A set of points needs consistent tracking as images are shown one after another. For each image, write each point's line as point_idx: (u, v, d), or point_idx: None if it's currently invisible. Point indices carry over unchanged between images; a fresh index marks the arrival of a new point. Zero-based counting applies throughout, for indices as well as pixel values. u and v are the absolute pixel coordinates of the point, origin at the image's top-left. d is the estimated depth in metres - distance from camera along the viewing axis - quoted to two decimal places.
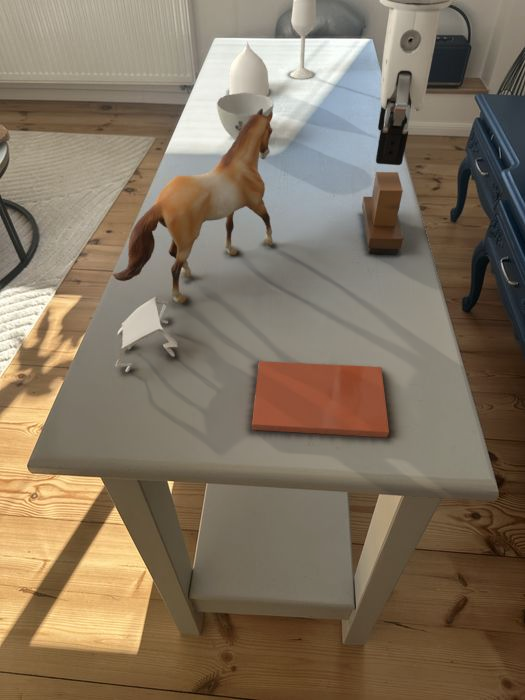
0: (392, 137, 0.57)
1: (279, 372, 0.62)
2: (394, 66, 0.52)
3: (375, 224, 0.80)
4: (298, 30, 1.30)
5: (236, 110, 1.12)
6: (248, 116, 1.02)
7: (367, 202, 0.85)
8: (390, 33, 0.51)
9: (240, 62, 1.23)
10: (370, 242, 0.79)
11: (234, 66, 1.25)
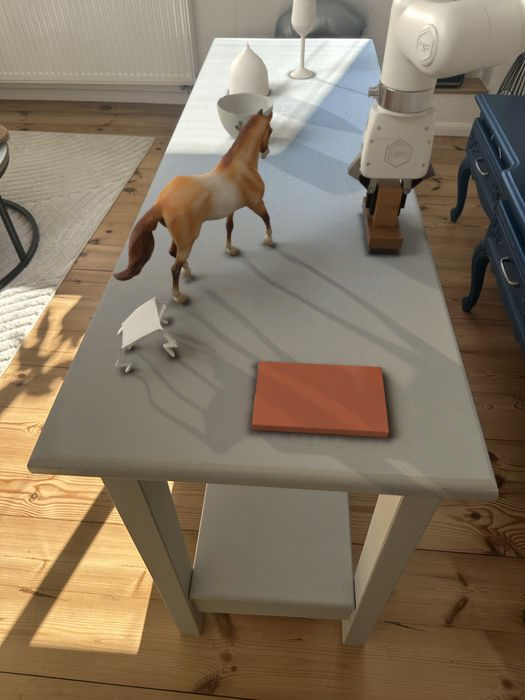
0: None
1: (279, 372, 0.62)
2: None
3: (375, 224, 0.80)
4: (298, 30, 1.30)
5: (236, 110, 1.12)
6: (248, 116, 1.02)
7: None
8: None
9: (240, 62, 1.23)
10: (370, 242, 0.79)
11: (234, 66, 1.25)
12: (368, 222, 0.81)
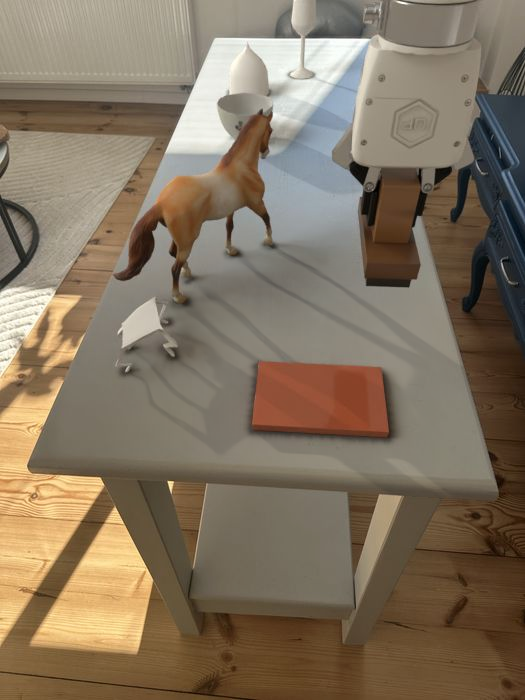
0: None
1: (279, 372, 0.62)
2: None
3: (376, 240, 0.51)
4: (298, 30, 1.30)
5: (236, 110, 1.12)
6: (248, 116, 1.02)
7: None
8: None
9: (240, 62, 1.23)
10: (367, 269, 0.50)
11: (234, 66, 1.25)
12: (365, 236, 0.52)
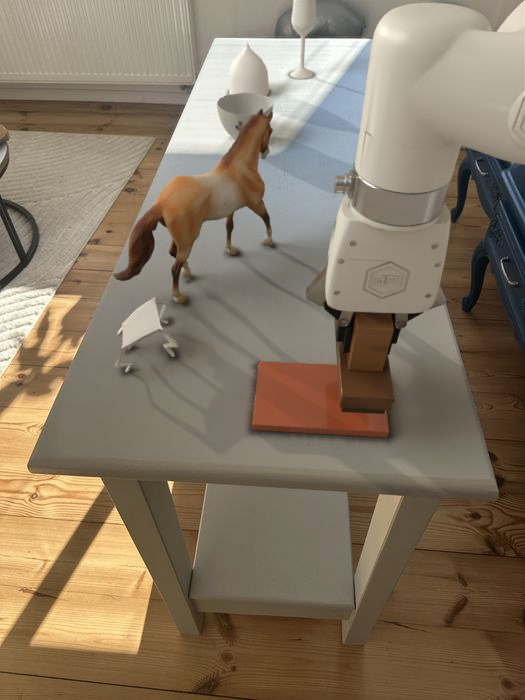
0: None
1: (279, 372, 0.62)
2: None
3: (351, 368, 0.51)
4: (298, 30, 1.30)
5: (236, 110, 1.12)
6: (248, 116, 1.02)
7: None
8: None
9: (240, 62, 1.23)
10: (342, 401, 0.50)
11: (234, 66, 1.25)
12: (341, 362, 0.52)
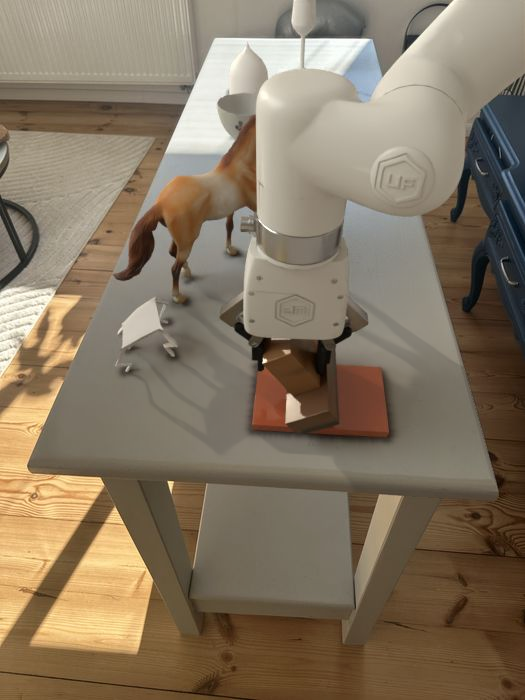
0: None
1: None
2: None
3: (293, 394, 0.55)
4: (298, 30, 1.30)
5: (236, 110, 1.12)
6: (248, 116, 1.02)
7: None
8: None
9: (240, 62, 1.23)
10: (290, 427, 0.54)
11: (234, 66, 1.25)
12: (287, 391, 0.57)
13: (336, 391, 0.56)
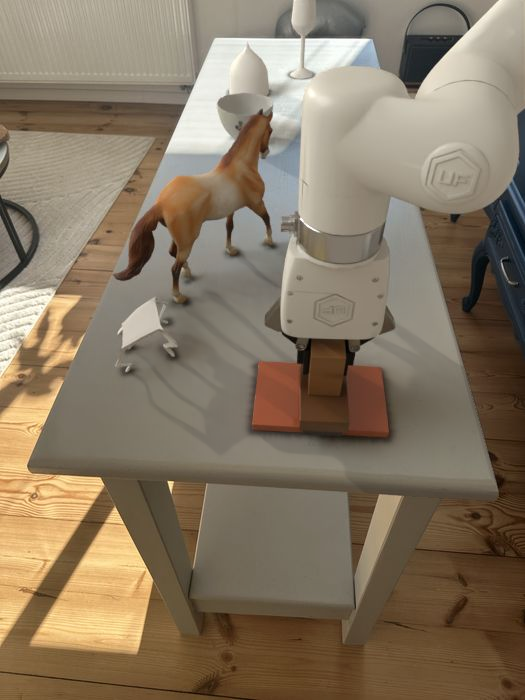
0: None
1: (279, 372, 0.62)
2: None
3: (310, 393, 0.54)
4: (298, 30, 1.30)
5: (236, 110, 1.12)
6: (248, 116, 1.02)
7: None
8: None
9: (240, 62, 1.23)
10: (301, 425, 0.53)
11: (234, 66, 1.25)
12: (301, 387, 0.55)
13: None
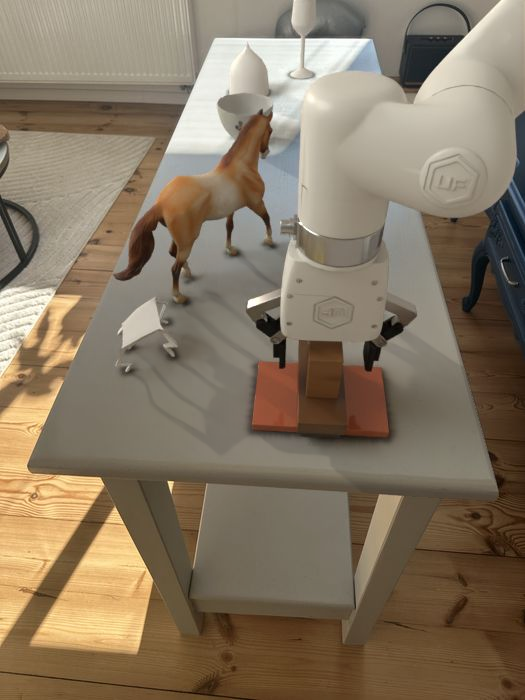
0: None
1: (279, 372, 0.62)
2: None
3: (308, 396, 0.55)
4: (298, 30, 1.30)
5: (236, 110, 1.12)
6: (248, 116, 1.02)
7: (303, 350, 0.60)
8: None
9: (240, 62, 1.23)
10: (299, 427, 0.53)
11: (234, 66, 1.25)
12: (299, 390, 0.56)
13: None
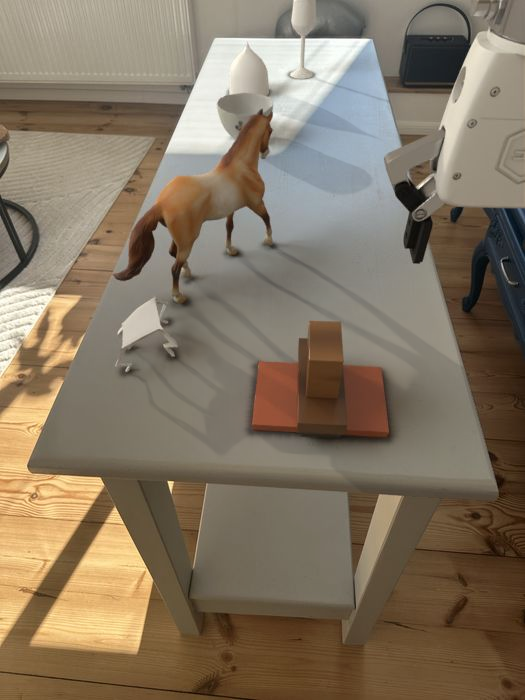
0: (410, 214, 0.38)
1: (279, 372, 0.62)
2: (444, 115, 0.34)
3: (308, 396, 0.55)
4: (298, 30, 1.30)
5: (236, 110, 1.12)
6: (248, 116, 1.02)
7: (303, 350, 0.60)
8: None
9: (240, 62, 1.23)
10: (299, 427, 0.53)
11: (234, 66, 1.25)
12: (299, 390, 0.56)
13: None
